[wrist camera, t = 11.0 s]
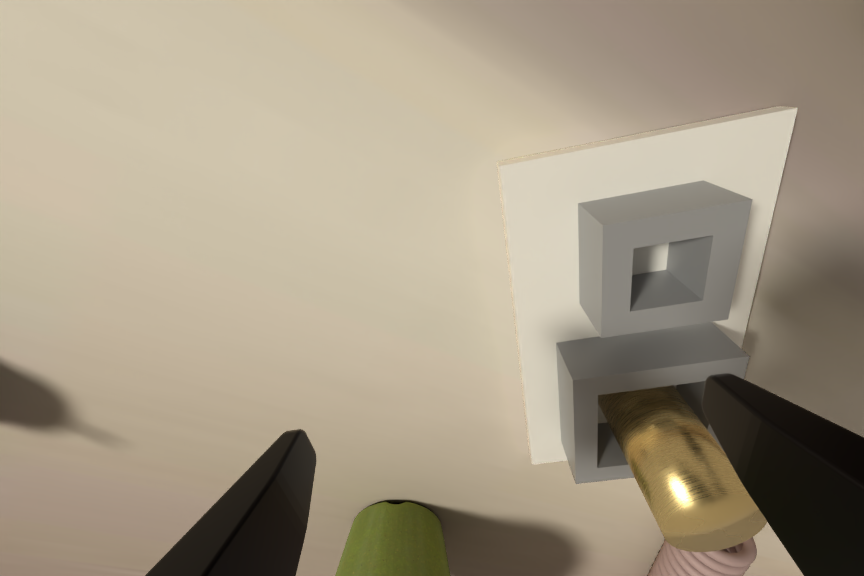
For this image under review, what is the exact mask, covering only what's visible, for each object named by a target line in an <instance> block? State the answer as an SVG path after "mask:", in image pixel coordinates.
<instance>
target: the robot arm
mask: <svg viewBox="0 0 864 576" xmlns="http://www.w3.org/2000/svg"><path fill="white" fill-rule="evenodd" d="M702 410H703V413H704V415H705V417H706V419H707V421H708V423H709V424H710V426H711V428H712V430H713V432H714V434H715V435H716V437H717V439H718V441H719V443H720V445H721V446H722V448H723V450H724V452H725V454H726V456H727V458H728V459H729V461H730V463H731V465H732V467H733V469H734V470H735V472H736V474H737V476H738V477H739V479H740V481H741V483H742V484H743V486H744V487H745V489H746V491H747V492H748V494H749V495H750V497H751V498H752V500H753V501H754V503H755V504H756V506H757V507H758V508H759V510H760V511H761V513H762V514H763V516H764V517H765V519H766V520H767V522H768V523H769V525H770V526H771V528H772V529H773V531H774V532H775V534H776V535H777V537H778V538H779V539H780V541H781V542H782V544H783V545H784V547H785V548H786V550H787V551H788V553H789V554H790V556H791V557H792V559H793V560H794V562H795V563H796V565H797V566H798V567H799V569H800V570H801V572H802V573H803V575H804V576H864V437H861V436H859V435H857V434H855V433H853V432H851V431H849V430H847V429H845V428H843V427H841V426H839V425H837V424H835V423H833V422H831V421H829V420H826V419H824V418H822V417H820V416H818V415H816V414H814V413H812V412H810V411H808V410H806V409H804V408H802V407H800V406H798V405H796V404H793V403H791V402H789V401H787V400H785V399H783V398H781V397H779V396H777V395H775V394H773V393H771V392H769V391H767V390H765V389H763V388H761V387H758V386H756V385H754V384H752V383H750V382H748V381H746V380H744V379H742V378H740V377H738V376H736V375H733V374H730V373H723V374H715V375H710V376H708V377H707V379H706V382H705V387H704V392H703V397H702ZM315 466H316V453H315V450H314V448H313V446H312V444H311V442H310V440H309V438H308V436H307V434H306V433H305V431H303V430H301V429H298V430H291V431H286V432H284V433H283V434H282V435H281V436H280V437H279V438H278V439H277V440H276V441H275V442H274V443H273V444H272V445H271V446H270V447H269V448H268V450H267V451H266V452H265V453H264V454H263V455H262V456H261V457H260V458H259V459H258V460H257V461H256V462H255V463H254V464H253V465H252V466H251V467H250V468H249V469H248V470H247V471H246V472H245V473H244V474H243V475H242V476H241V477H240V478H239V479H238V480H237V481H236V483H235V484H234V485H233V486H232V487H231V488H230V489H229V490H228V491H227V492H226V493H225V494H224V495H223V496H222V497H221V498H220V499H219V500H218V501H217V502H216V503H215V504H214V505H213V506H212V507H211V508H210V509H209V510H208V511H207V512H206V513H205V514H204V515H203V517H202V518H201V519H200V520H199V521H198V522H197V523H196V524H195V525H194V526H193V527H192V528H191V529H190V530H189V531H188V532H187V533H186V534H185V535H184V536H183V537H182V538H181V539H180V540H179V541H178V542H177V543H176V544H175V545H174V546H173V547H172V548H171V550H170V551H169V552H168V553H167V554H166V555H165V556H164V557H163V558H162V559H161V560H160V561H159V562H158V563H157V564H156V565H155V566H154V567H153V568H152V569H151V570H150V571H149V572H148V573H147V574H146V575H145V576H295V575H296V571H297V567H298V563H299V559H300V555H301V551H302V547H303V542H304V538H305V533H306V529H307V523H308V517H309V509H310V502H311V495H312V488H313V481H314V474H315Z"/></svg>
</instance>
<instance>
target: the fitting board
mask: <svg viewBox="0 0 864 576" xmlns="http://www.w3.org/2000/svg"><path fill="white" fill-rule="evenodd" d="M797 109H798V108H795V107H783V106H777V107H772V108H767V109H761V110H756V111H751V112H746V113H741V114H736V115H731V116H726V117H721V118H716V119H711V120H706V121H701V122H696V123H691V124H685V125H680V126H675V127H670V128H665V129H660V130H655V131H650V132H645V133H640V134H635V135H630V136H625V137H620V138H615V139H609V140H604V141H599V142H594V143H589V144H584V145H579V146H574V147H569V148H564V149H559V150H554V151H549V152H544V153H539V154H533V155H528V156H523V157H518V158H513V159H508V160H503V161H498V162H497V171H498V180H499V189H500V198H501V207H502V215H503V224H504V233H505V242H506V251H507V260H508V269H509V278H510V287H511V295H512V304H513V313H514V322H515V331H516V340H517V349H518V358H519V367H520V375H521V384H522V393H523V402H524V411H525V420H526V429H527V438H528V447H529V454H530V458H531V462H532V465H533V464H542V463H550V462H559V461H567V460H568V463H569V466H570V468H571V471H572V474H573V477H574V480H575V483H576V484H579V483H588V482H597V481H607V480H616V479H625V478H634V475H633V473H632V471H631V469H630V467H629V465H628V463H627V461H626V459H625V457H624V455H623V453H622V451H621V449H620V447H619V444H618V442H617V440H616V438H615V436H614V434H613V432H612V430H611V428H610V426H609V424H608V422H607V420H606V418H605V416H604V414H603V412H602V410H601V408H600V406H599V404H598V395H603V394H611V393H618V392H626V391H634V390H641V389H649V388H656V387H664V386H672V385H673V386H674V387H675V388H676V389H677V391H678V392H679V393H680V395H681V396H682V397H683V399H684V400H685V401H686V403H687V404H688V405H689V406H690V408H691V409H692V410H693V412H694V413H695V414H696V416H697V417H698V418H699V419H700V421H701V422H702V423H703V425H704V426H705V427H706V429H707V430H708V431H709V432H710V434H711V435H712V436H713V438H714V439H715V440H716V442H717V443H718V444H719V446H720V447H721V448H722V446H721V445H720V443H719V441H718V439H717V437H716V435H715V434H714V432H713V430H712V428H711V426H710V424H709V423H708V421H707V419H706V417H705V415H704V413H703V410H702V397H703V392H704V387H705V382H706V379H707V377H708V376H710V375H715V374H723V373H730V374H733V375H736V376H738V377H740V378H742V379H744V377H745V373H746V369H747V365H748V361H749V357H750V356H749V355H748V354H747V353H746V352H744V351H743V350H742V345H743V341H744V336H745V332H746V328H747V323H748V319H749V315H750V311H751V306H752V302H753V298H754V293H755V289H756V285H757V281H758V276H759V272H760V268H761V263H762V259H763V255H764V251H765V246H766V242H767V238H768V233H769V229H770V225H771V221H772V216H773V212H774V208H775V203H776V199H777V195H778V191H779V186H780V182H781V178H782V173H783V169H784V165H785V161H786V156H787V152H788V148H789V143H790V139H791V135H792V131H793V126H794V122H795V118H796V113H797ZM722 449H723V448H722ZM723 451H724V450H723Z"/></svg>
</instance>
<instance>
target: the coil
mask: <svg viewBox="0 0 864 576" xmlns="http://www.w3.org/2000/svg"><path fill="white" fill-rule="evenodd" d="M756 555H757V549H756V545H755V542H754V539H753V537H752V538H750V539H748V540H747V541H745V542H743V543H740V544H738V545H735V546H733V547H730V548H726V549H722V550H717V551H711V552H689V551H684V550H680V549H677V548H675V547H673V546H671V545H670V544H669V543H668V542H667V541H666V540H665V541H664V543H663V546H662V547H661V549H660V551H659V553H658V555H657V557H656V560H655V561H654V563H653V566H652V567H651V569H650V572H649V573H648V575H647V576H743V575H744V573H745V571H747V570H748V568H749V567H750V564H751V563H752V562H753V561H754V560H755V558H756Z"/></svg>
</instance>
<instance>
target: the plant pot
mask: <svg viewBox="0 0 864 576" xmlns="http://www.w3.org/2000/svg"><path fill="white" fill-rule="evenodd" d="M335 576H450V571H449V565H448V560H447V554H446V548H445V542H444V537H443V532H442V527H441V523H440V521H439V519H438V518H437V516H436V515H435V514H434V513H433V512H431V511H430V510H429V509H427V508H425V507H423V506H420V505H417V504H414V503H410V502H404V503H402V504H390V503H388V502H382V503H377V504H374V505H371V506H369V507H367V508H365V509H364V510H362V511H361V512H360V513H359V514H358V515H357V516H356V518H355V519H354V522H353V524H352V527H351V530H350V533H349V536H348V539H347V542H346V545H345V548H344V551H343V554H342V557H341V560H340V563H339V566H338V569H337V572H336V575H335Z"/></svg>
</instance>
